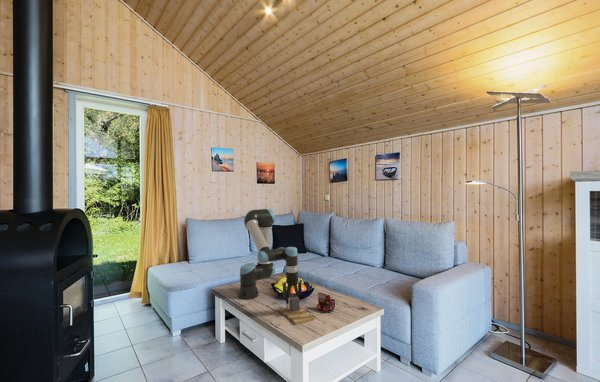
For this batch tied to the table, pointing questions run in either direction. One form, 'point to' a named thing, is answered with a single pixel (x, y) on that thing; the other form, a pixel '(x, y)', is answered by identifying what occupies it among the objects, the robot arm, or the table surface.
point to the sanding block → (294, 304)
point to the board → (298, 316)
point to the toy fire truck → (324, 302)
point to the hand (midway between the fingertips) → (292, 307)
